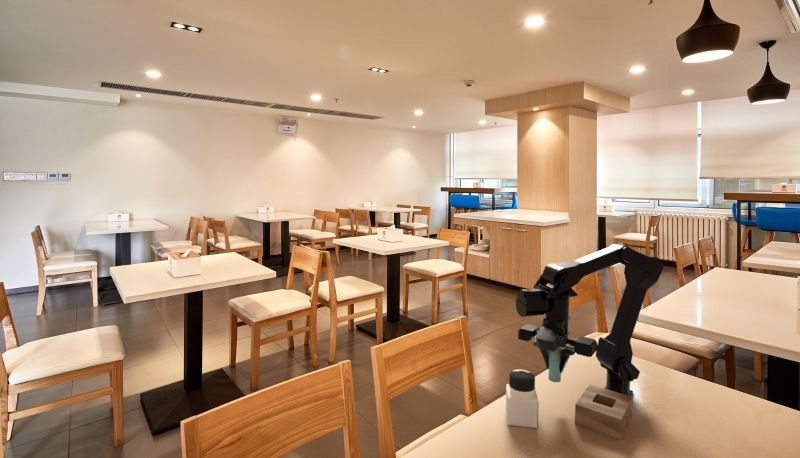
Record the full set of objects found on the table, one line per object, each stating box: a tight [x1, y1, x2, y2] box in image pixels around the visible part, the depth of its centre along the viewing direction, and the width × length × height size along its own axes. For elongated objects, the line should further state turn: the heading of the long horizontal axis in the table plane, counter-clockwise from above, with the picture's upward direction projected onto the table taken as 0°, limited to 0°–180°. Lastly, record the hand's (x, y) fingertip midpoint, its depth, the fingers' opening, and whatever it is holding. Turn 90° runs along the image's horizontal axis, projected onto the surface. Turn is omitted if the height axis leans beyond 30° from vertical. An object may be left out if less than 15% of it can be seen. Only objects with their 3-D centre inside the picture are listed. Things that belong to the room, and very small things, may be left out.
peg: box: [548, 347, 563, 383], centre depth 106 cm, size 3×3×9 cm
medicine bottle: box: [505, 369, 540, 429], centre depth 100 cm, size 7×7×12 cm
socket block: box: [574, 383, 633, 441], centre depth 100 cm, size 12×10×5 cm
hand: (554, 370), depth 106 cm, fingers closed on peg, 3 cm apart
